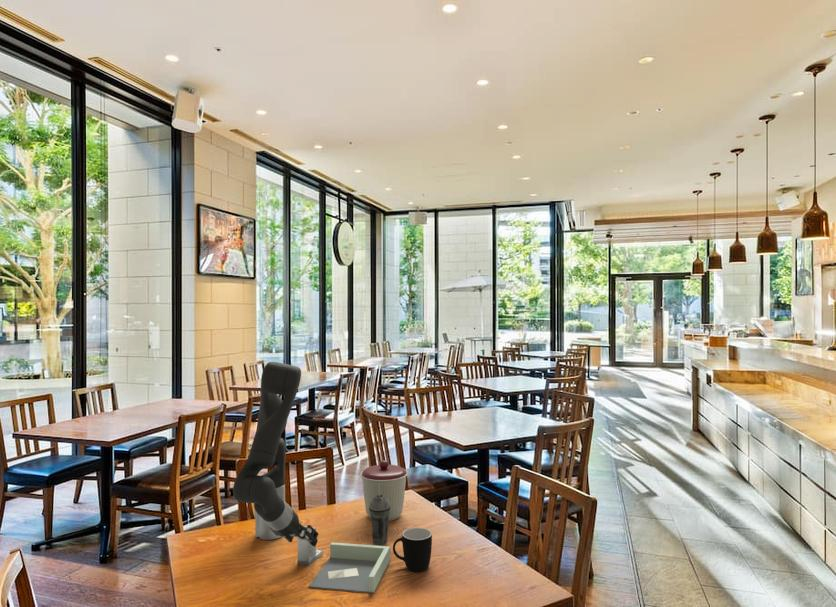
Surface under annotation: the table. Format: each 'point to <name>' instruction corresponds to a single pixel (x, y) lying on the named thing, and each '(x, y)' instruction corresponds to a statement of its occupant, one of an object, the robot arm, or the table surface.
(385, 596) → the table surface
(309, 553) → the bracket
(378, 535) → the beverage cup
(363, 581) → the mat
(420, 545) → the mug
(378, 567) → the corner walls
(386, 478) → the canister
